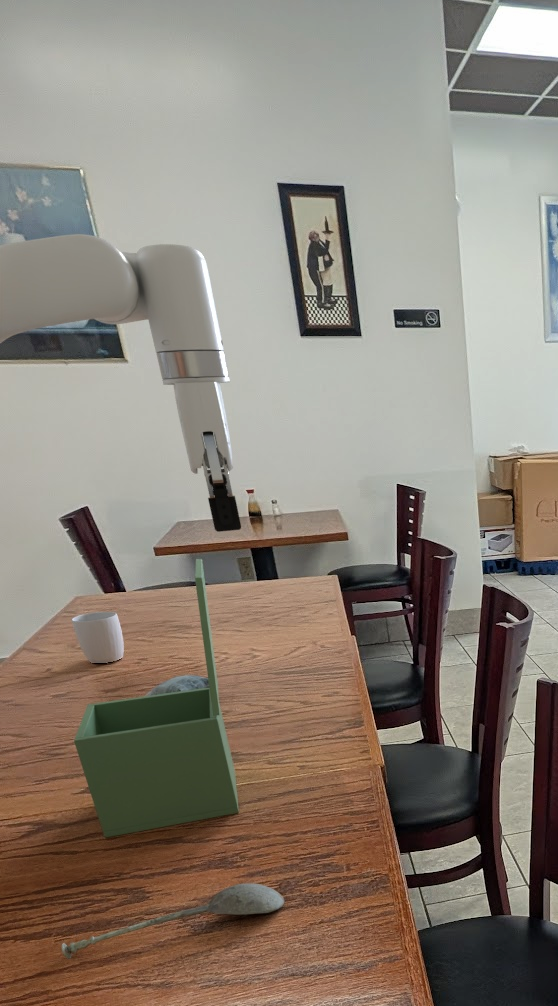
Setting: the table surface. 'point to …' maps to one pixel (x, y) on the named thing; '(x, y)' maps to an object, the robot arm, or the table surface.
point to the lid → (207, 636)
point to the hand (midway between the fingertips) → (228, 529)
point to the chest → (156, 761)
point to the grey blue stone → (180, 684)
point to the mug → (99, 636)
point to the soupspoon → (205, 910)
